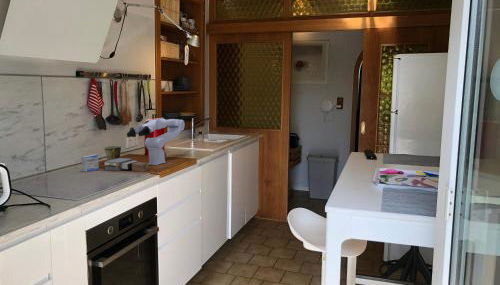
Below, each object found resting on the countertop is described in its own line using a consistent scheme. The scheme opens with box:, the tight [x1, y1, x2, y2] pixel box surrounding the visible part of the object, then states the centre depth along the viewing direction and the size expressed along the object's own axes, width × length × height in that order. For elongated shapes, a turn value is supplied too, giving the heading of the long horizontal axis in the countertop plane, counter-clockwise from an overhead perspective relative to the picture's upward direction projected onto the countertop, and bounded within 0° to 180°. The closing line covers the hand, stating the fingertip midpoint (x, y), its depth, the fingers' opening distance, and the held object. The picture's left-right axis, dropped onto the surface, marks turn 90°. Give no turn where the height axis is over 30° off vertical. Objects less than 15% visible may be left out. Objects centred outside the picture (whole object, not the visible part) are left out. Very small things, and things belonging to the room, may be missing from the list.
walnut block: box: [131, 161, 150, 172], centre depth 239 cm, size 5×8×4 cm, turn 64°
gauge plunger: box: [116, 160, 140, 170], centre depth 242 cm, size 12×9×4 cm
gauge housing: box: [104, 157, 134, 172], centre depth 246 cm, size 12×10×5 cm
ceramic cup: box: [103, 145, 122, 161], centre depth 263 cm, size 13×10×10 cm
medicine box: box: [80, 154, 100, 173], centre depth 242 cm, size 8×4×9 cm, turn 143°
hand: (133, 134), depth 236 cm, fingers open, 7 cm apart
